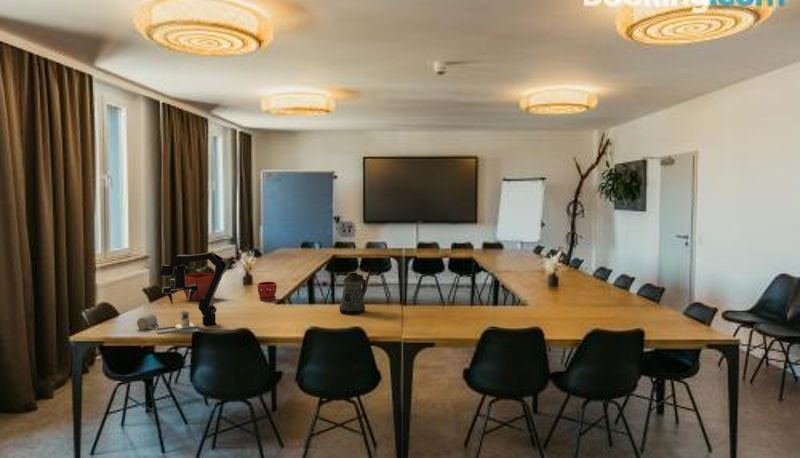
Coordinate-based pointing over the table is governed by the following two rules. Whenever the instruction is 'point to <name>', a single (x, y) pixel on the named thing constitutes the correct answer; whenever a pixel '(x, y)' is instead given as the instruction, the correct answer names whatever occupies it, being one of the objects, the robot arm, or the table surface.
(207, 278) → the plant pot
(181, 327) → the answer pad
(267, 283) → the plant pot
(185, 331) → the tray
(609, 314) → the table surface
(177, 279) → the robot arm
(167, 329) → the tray
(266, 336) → the table surface
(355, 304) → the beer stein
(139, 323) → the ceramic mug
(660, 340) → the table surface
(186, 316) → the tan rectangular block
